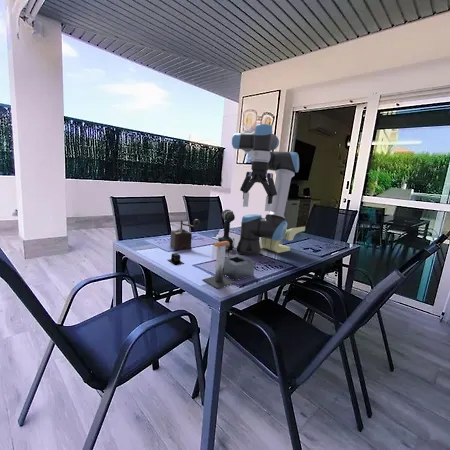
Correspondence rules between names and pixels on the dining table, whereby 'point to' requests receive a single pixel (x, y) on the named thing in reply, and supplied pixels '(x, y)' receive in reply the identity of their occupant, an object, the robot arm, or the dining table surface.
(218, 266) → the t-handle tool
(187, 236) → the manual coffee grinder
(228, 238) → the power drill
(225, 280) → the rubber mat
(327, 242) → the dining table surface
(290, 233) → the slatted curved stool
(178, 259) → the black notched block
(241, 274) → the block
